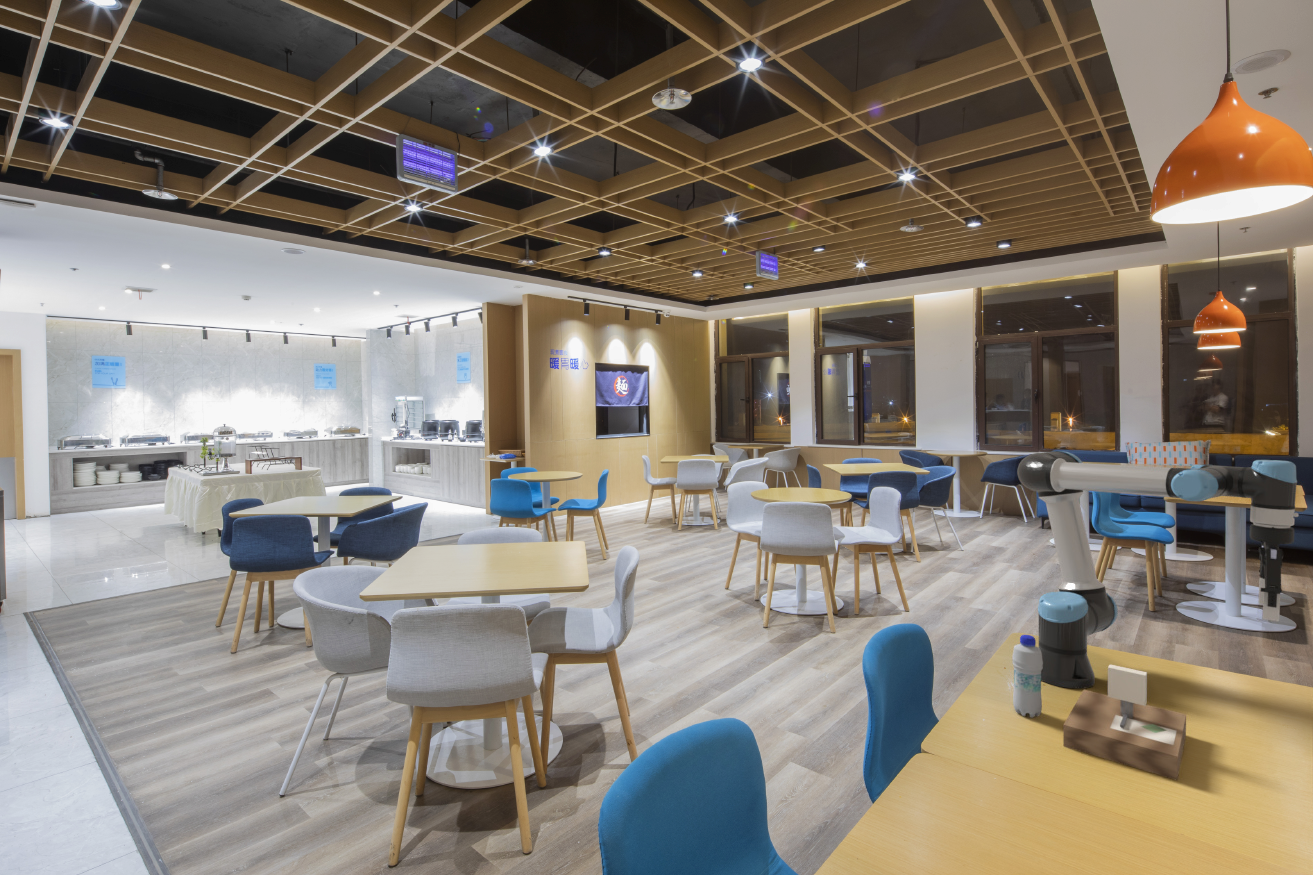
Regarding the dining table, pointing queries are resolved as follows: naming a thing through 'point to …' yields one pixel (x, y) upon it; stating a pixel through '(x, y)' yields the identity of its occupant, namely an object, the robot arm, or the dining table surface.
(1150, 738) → the wooden box with sign
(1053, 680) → the robot arm
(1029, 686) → the bottle
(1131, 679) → the white box with rod
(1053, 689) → the dining table surface
